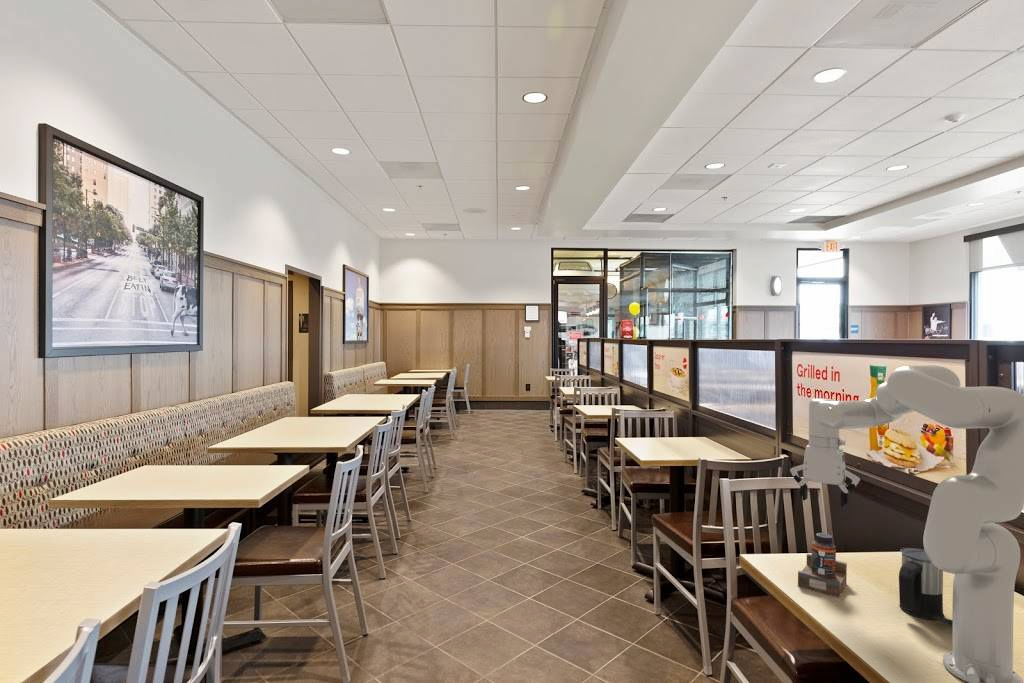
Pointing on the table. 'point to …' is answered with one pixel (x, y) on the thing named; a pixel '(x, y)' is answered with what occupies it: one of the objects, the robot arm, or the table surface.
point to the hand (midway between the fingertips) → (823, 502)
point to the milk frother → (921, 586)
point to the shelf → (823, 579)
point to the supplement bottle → (823, 556)
